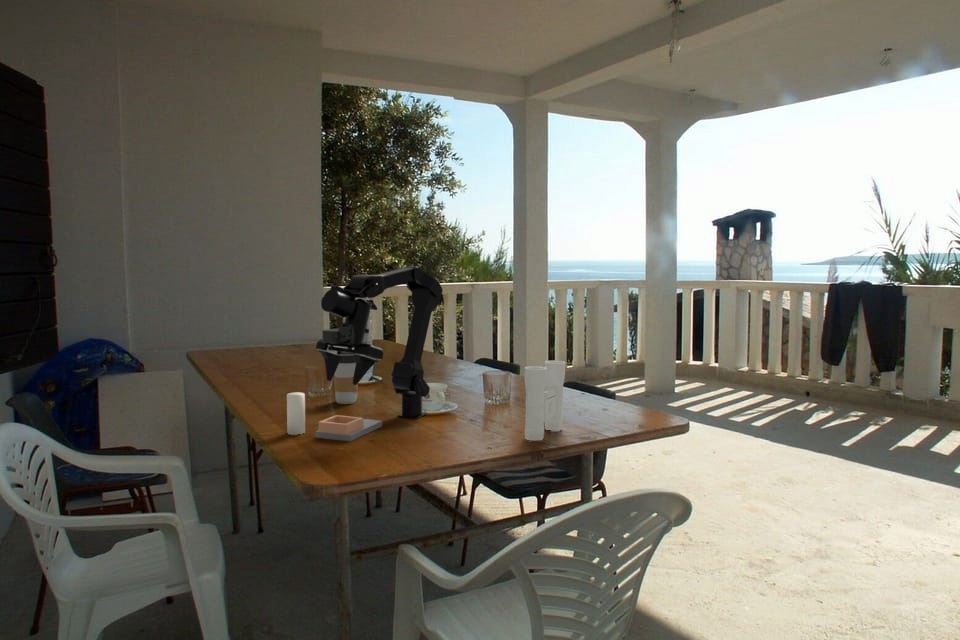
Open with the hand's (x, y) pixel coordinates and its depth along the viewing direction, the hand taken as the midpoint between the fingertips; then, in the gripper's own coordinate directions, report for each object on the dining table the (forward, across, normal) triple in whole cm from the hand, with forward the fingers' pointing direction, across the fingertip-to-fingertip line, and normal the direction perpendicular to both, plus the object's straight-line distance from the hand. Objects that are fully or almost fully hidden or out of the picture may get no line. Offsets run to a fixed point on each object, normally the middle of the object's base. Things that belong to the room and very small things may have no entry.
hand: (341, 382), depth 166 cm
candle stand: (+12, -1, +8) cm, 14 cm away
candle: (+14, -11, 0) cm, 18 cm away
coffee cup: (+4, -28, +31) cm, 42 cm away
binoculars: (+2, +40, +35) cm, 53 cm away
